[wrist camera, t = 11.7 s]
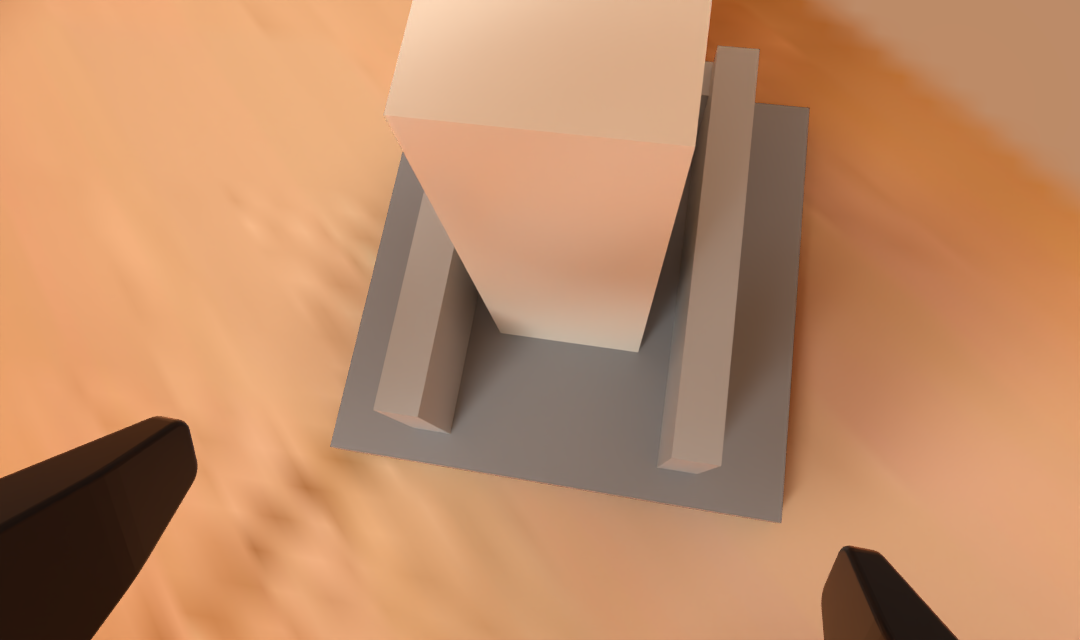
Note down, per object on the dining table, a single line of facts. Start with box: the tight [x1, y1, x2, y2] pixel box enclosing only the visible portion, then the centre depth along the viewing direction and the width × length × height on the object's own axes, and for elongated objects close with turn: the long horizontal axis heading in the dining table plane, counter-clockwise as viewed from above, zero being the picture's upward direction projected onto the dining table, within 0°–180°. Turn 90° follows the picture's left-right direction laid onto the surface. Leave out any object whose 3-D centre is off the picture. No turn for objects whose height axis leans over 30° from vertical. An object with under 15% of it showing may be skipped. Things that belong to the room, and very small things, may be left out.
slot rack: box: [330, 46, 809, 523], centre depth 21 cm, size 14×14×5 cm
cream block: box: [384, 0, 712, 352], centre depth 16 cm, size 5×4×12 cm
